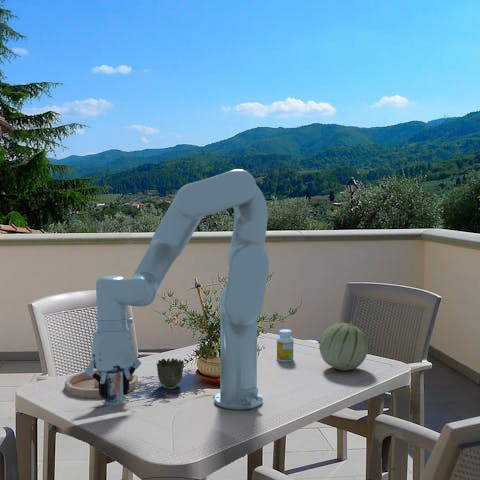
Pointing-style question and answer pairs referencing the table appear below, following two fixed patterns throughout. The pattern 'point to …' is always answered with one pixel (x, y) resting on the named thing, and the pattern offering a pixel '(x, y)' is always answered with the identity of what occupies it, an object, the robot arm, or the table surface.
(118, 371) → the beer can
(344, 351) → the cantaloupe
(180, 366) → the cup
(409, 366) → the table surface
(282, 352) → the supplement bottle
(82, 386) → the saucer
